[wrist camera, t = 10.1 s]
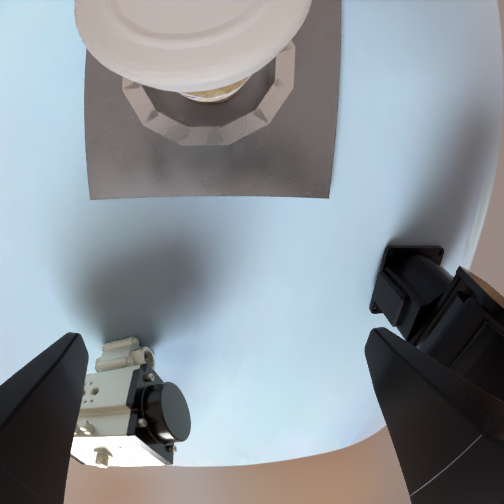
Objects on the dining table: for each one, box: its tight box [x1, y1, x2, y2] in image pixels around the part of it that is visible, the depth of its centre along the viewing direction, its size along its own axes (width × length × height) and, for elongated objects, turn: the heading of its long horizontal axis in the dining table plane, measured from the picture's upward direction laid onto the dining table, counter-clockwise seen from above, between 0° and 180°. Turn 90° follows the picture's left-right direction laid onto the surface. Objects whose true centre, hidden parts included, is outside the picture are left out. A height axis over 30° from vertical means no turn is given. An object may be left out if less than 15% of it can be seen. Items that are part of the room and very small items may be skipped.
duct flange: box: [84, 0, 341, 200], centre depth 14 cm, size 16×16×3 cm
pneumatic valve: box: [70, 337, 191, 468], centre depth 19 cm, size 6×12×12 cm, turn 108°
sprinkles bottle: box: [74, 0, 312, 104], centre depth 9 cm, size 5×5×14 cm
